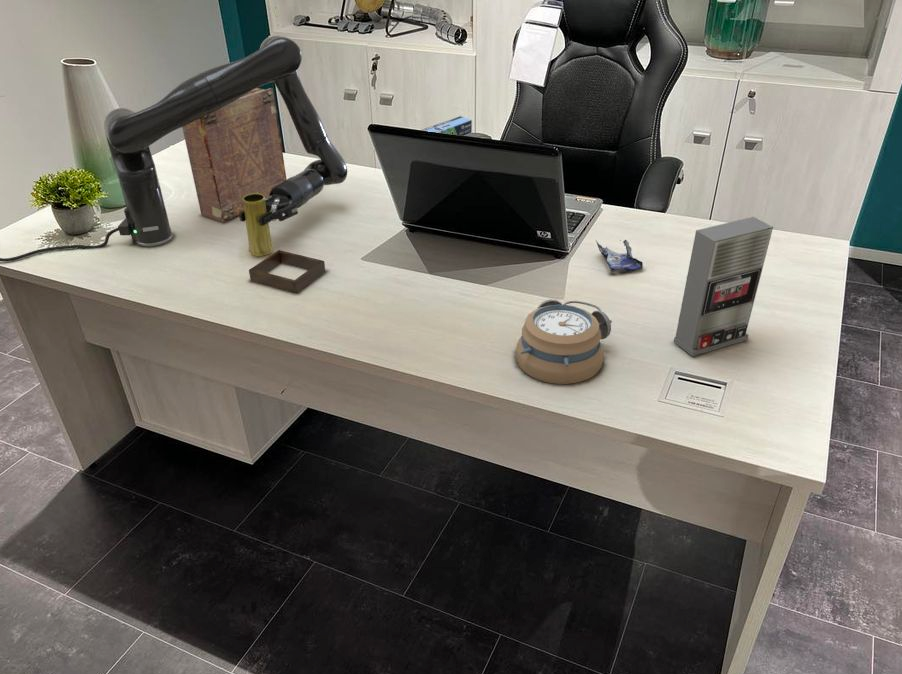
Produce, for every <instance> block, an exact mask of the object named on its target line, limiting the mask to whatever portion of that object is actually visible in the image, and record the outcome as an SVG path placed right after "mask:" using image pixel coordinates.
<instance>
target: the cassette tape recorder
mask: <svg viewBox="0 0 902 674" xmlns="http://www.w3.org/2000/svg"><path fill="white" fill-rule="evenodd" d="M773 229H774V226H772V225H770V224H768V223H766V222H765V221H763V220H760V219H758V218H756V217H755V216H751V217H747V218H743V219H739V220H734V221H730V222H726V223H721V224H718V225H713V226H709V227H704V228H700V229H696V230H695V233H694V239H693V244H692V249H691V254H690V259H689V265H688V270H687V275H686V280H685V285H684V291H683V295H682V296H683V297H682V302H681V306H680V312H679V316H678V322H677V327H676V332H675V336H674V338H673V343H674V344H675V345H677V346H678V347H680V348H681V349H682V350H684V351H685V352H686V353H687V354H688V355H690V356H691V357H695V356H697V355H698V356H699V355H701V354H705V353H708V352H712V351H714V350H718V349H721V348H724V347H727V346H731V345H735V344H739V343H741V342H746V341H748V339H749V334H747V331H748V328H749V327H748V326H749V323H750V320H751V315H752V311H753V308H754V304H755V300H756V297H757V296H756V295H757V292H758V289H759V288H758V287H759V284H760V280H761V278H762V277H761V276H762V272H763V268H764V264H765V261H766V256H767V253H768V249H769V245H770V241H771V238H772V233H773Z"/></svg>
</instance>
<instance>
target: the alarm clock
mask: <svg viewBox="0 0 902 674" xmlns="http://www.w3.org/2000/svg"><path fill="white" fill-rule="evenodd" d="M570 304H581V305H586V306H589V307H593V308H594V309H597V310H594V311H593V312H591V313H590V312H589V311H587V310H585V309H583V308H580V307H577V306H574V305H570ZM612 323H613V320H612V319H610V318H609V316H608V315H607V314H606V313H605V312H604V311H602V309H601V308H600V307H599V306H598V305H596V304H593V303H589V302H585V301H580V300H568V301H566V302H564V303H562V302H561V301H559V300H558V299H546V300H544V301H542V302H541V303H540V304H539V305H538V307H537V308H536V309H534V310H532V311H531V312H529V314H528V315H527V316H526V317H525V321H524V324H523V325H522V327H521V335H520V337H519V339H518V340H517V343H516V354H515V355H516V358H515V360H516V363H517V365H518V366H519V368H520V369H521V370H522V371H523V372H524V373H525V374H527V375H528V376H530V377H531V378H534V379H536V380H539V381H541V382H546V383H550V384H559V385H568V384H569V385H570V384H577V383H581V382H584V381H587V380H589V379H591V378H592V377H595V375H596V374H598V372H599V371H600V370H601V368H602V366H603V363H604V361H603V360H604V355H605V354H604V347H603V344H602V343H601V340H605V339H607V338H608V337H609V336H610V335H611V332H612Z"/></svg>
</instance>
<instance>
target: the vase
mask: <svg viewBox="0 0 902 674" xmlns="http://www.w3.org/2000/svg"><path fill="white" fill-rule="evenodd" d="M243 203H244V212H245V218H246V220H245V223H246V224H245V225H246V234H247V242H248V253H249V254H251V255H253V256H257V257H258V256H259V257H260V256H266V255H269V254H271V253H272V252H273V251H274V246H273V242H272V236H271V229H270V224H269V223H270V222H269V223H267V224H265V225H264V226H261V225H260V224H259V217H260V216H262V215H263V214H265V213H267V211H266V204H265V197H264V195H263V194H259V193H251V194H247V195H245V196H244V197H243Z"/></svg>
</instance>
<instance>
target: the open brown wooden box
mask: <svg viewBox="0 0 902 674" xmlns="http://www.w3.org/2000/svg"><path fill="white" fill-rule="evenodd" d="M280 264H285V265H289V266H294V267H298V268H302V269H305V270H306V271H305V272H303V273H302V274H301V275H299V276H298V277H297V278H295V279H292V278H288V277H284V276H281V275H277V274H272V273H269V272H270V271H272V269H275V267H277V266H279V265H280ZM326 271H327V270H326V265H325V260H322V259H318V258H314V257H310V256H306V255H303V254H302V255H301V254H298V253H293V252H289V251H285V250H280V249H278V250H276V251H275V252H273V253H272V254H271V255H269V256H268V257H266V258H264V259H263V260H262V261H260V262H258V263H256V264H255V265H254V266H252V267H251V268H250V269H248V273H249V280H250V282H253V283H256V284H260V285H264V286H267V287H272V288H274V289H279V290H283V291H285V292H290V293H294V294H298V293H300V292H301V291H303V290H304V289H305V288H306V287H308V286H309V285H310V284H311V283H313V282H314V281H315V280H317V279H318V278H320V277H321V276H322V275H323V274H325V273H326Z"/></svg>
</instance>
